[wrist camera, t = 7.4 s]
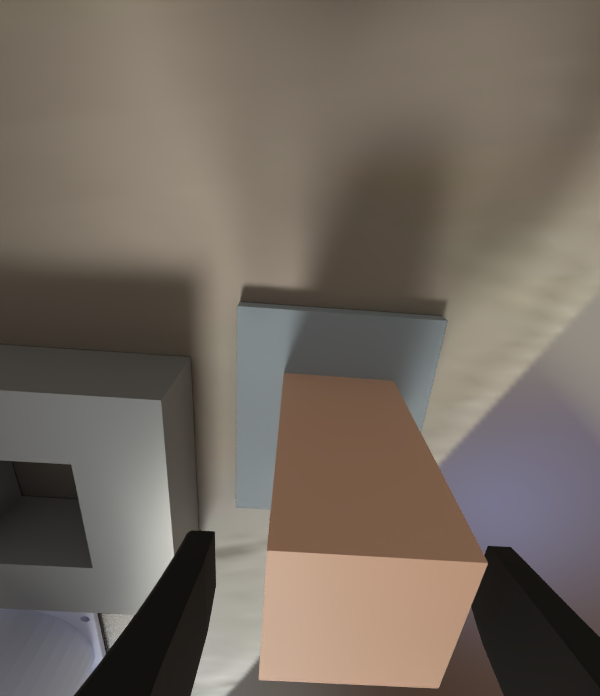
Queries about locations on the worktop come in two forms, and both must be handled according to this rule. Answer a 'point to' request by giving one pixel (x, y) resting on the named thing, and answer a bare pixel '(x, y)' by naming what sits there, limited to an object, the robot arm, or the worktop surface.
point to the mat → (320, 371)
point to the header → (94, 476)
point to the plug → (361, 542)
